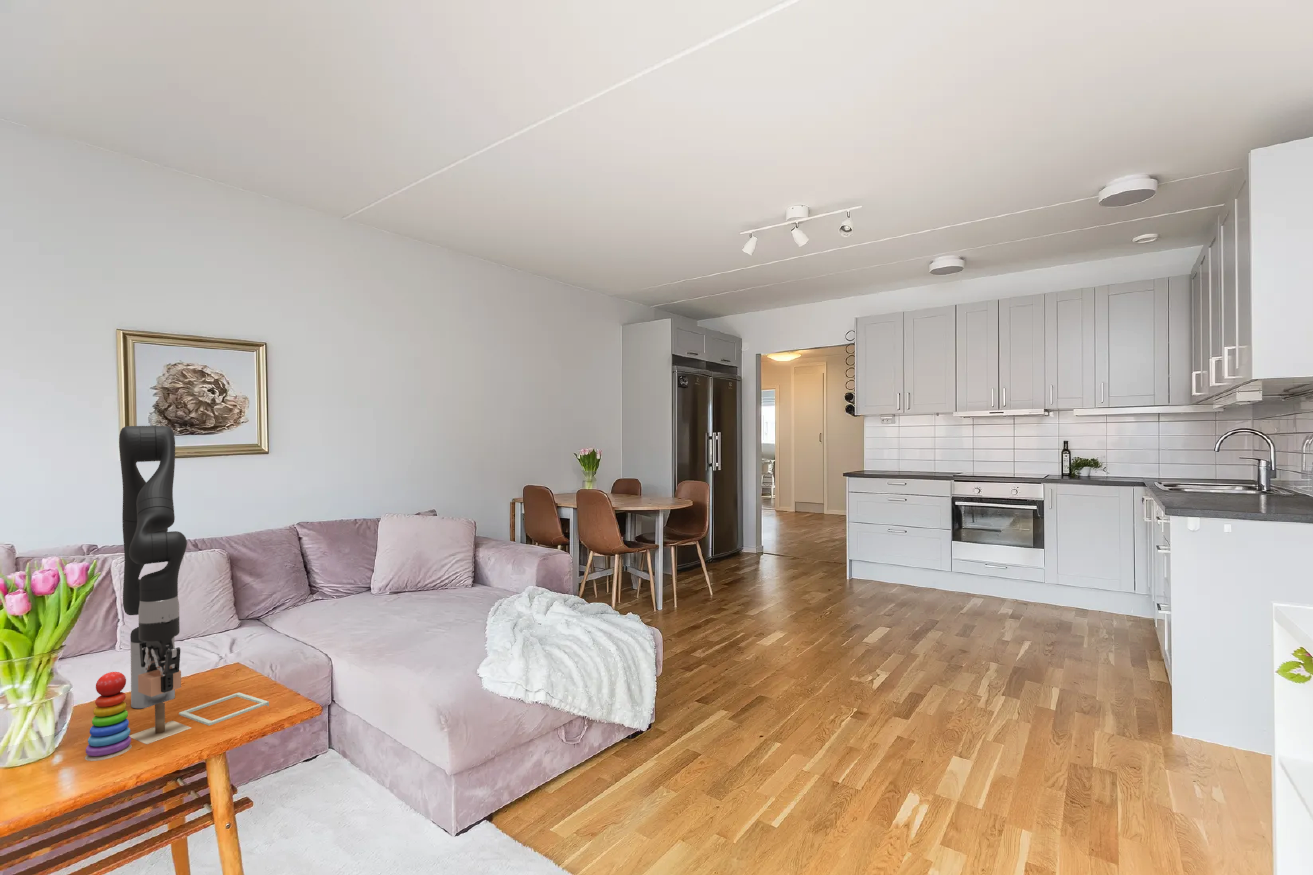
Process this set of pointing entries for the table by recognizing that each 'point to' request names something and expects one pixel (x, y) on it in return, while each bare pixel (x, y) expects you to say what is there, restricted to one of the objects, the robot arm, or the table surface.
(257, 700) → the tray
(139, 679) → the collar
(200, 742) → the table surface
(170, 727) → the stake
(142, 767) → the table surface
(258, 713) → the table surface
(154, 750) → the table surface
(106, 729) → the stacking toy
